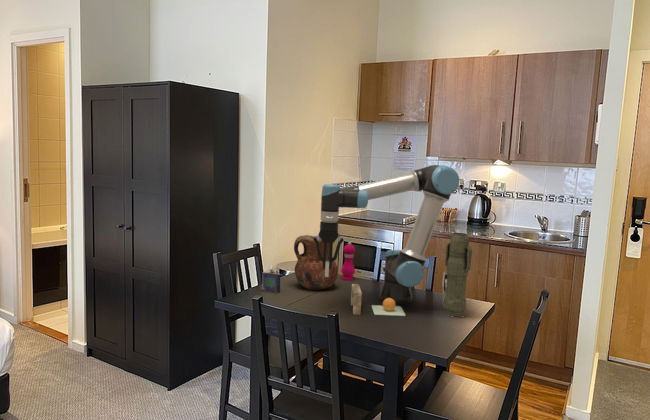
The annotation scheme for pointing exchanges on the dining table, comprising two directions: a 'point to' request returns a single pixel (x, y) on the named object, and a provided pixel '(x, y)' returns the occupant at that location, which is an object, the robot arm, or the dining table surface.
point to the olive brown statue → (457, 274)
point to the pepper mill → (348, 263)
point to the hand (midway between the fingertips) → (326, 276)
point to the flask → (271, 281)
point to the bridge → (356, 299)
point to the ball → (389, 304)
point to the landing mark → (381, 311)
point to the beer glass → (444, 286)
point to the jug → (313, 265)
